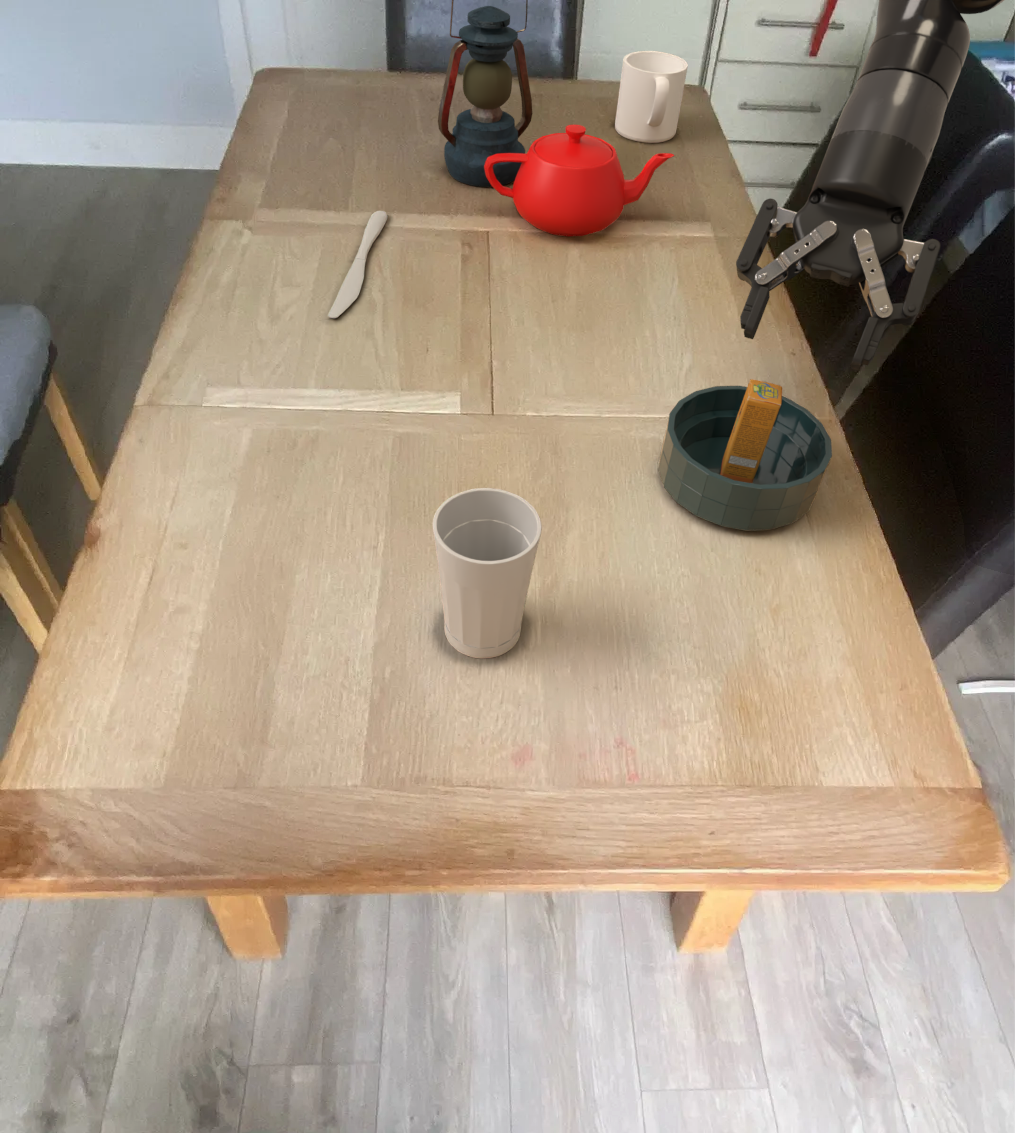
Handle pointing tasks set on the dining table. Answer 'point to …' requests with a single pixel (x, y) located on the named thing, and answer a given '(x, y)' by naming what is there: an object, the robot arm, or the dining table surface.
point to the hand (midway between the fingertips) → (800, 351)
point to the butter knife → (358, 266)
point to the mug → (650, 96)
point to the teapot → (571, 182)
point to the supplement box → (751, 430)
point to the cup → (485, 567)
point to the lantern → (485, 98)
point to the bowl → (781, 474)
